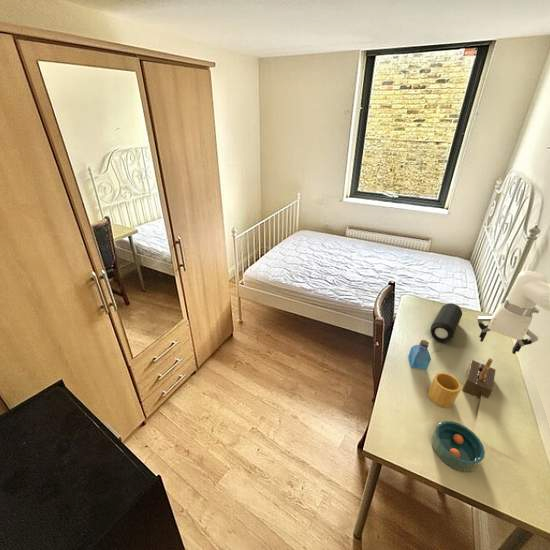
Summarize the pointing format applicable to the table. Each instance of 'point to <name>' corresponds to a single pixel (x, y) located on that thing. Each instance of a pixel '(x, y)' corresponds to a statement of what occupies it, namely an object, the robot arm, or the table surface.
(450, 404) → the utensil pot
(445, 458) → the bowl
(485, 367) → the stirring stick
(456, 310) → the portable speaker
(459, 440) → the dough ball
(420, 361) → the perfume bottle
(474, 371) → the holder
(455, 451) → the dough ball
